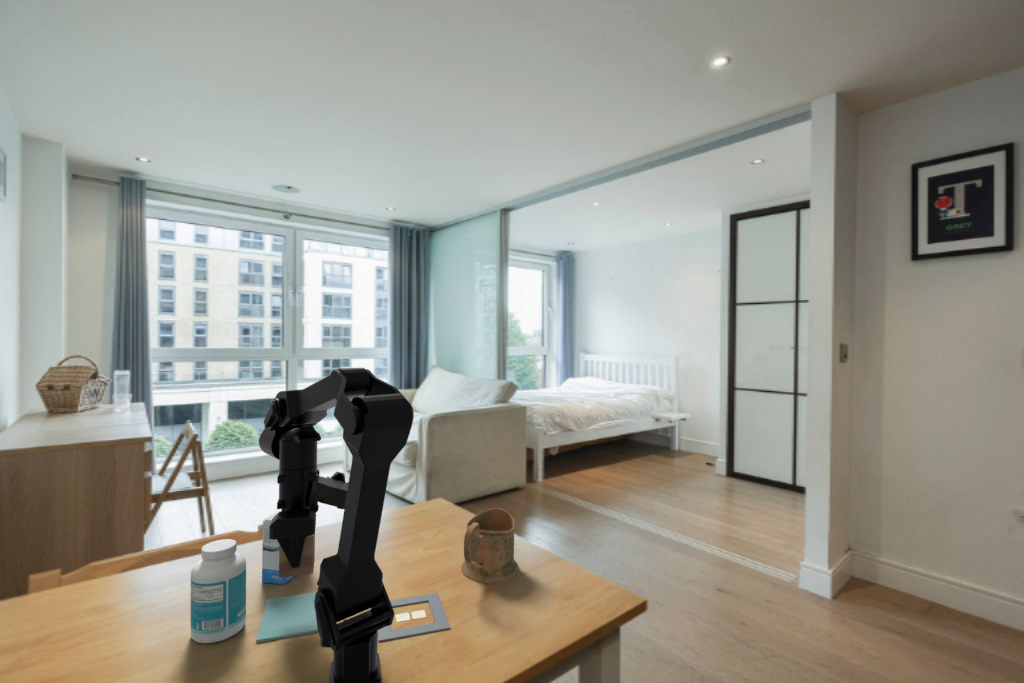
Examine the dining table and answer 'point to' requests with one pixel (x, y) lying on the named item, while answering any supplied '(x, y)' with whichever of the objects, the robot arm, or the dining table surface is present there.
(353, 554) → the robot arm
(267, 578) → the ink box
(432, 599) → the frame
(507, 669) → the dining table surface
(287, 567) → the block
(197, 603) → the pill bottle
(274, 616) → the mat
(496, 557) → the mug
